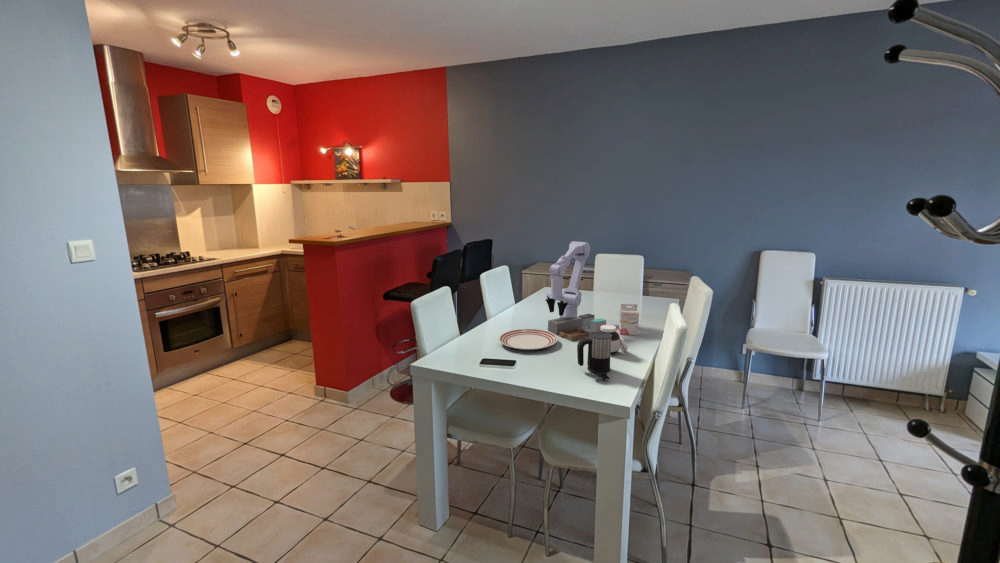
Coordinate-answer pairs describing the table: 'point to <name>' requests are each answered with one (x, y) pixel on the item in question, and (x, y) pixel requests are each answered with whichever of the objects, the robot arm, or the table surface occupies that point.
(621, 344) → the spread jar
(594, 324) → the teal cartridge
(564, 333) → the walnut tray
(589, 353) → the milk frother
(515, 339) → the dinner plate
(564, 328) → the grey long block
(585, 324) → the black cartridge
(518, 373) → the table surface
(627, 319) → the ink cartridge box
